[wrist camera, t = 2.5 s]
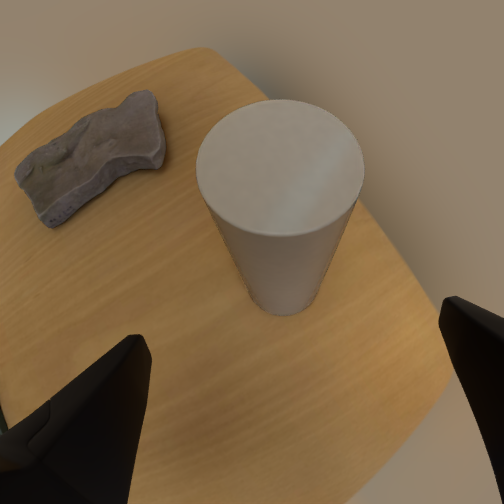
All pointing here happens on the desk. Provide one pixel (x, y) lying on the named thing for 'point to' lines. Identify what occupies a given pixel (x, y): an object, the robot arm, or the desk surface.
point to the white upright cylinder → (280, 196)
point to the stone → (92, 157)
